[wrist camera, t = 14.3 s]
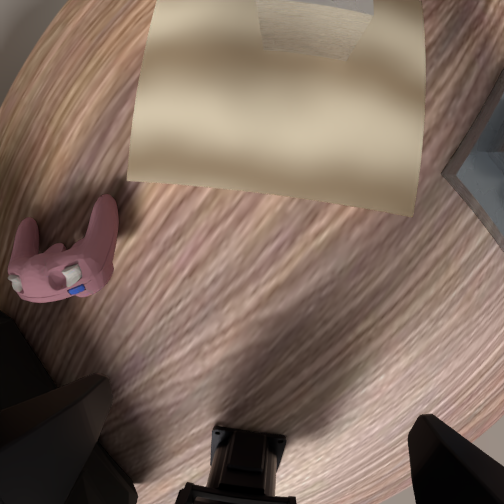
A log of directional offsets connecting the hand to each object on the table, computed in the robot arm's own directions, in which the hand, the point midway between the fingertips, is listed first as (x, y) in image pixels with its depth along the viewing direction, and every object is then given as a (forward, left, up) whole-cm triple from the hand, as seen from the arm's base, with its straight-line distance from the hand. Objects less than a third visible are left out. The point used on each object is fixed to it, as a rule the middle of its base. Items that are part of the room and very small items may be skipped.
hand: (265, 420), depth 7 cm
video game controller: (0, +15, -13) cm, 20 cm away
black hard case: (-21, +21, -13) cm, 32 cm away
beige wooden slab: (+12, +1, -13) cm, 18 cm away
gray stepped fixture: (+10, -18, -13) cm, 25 cm away
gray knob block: (+15, 0, -10) cm, 18 cm away
